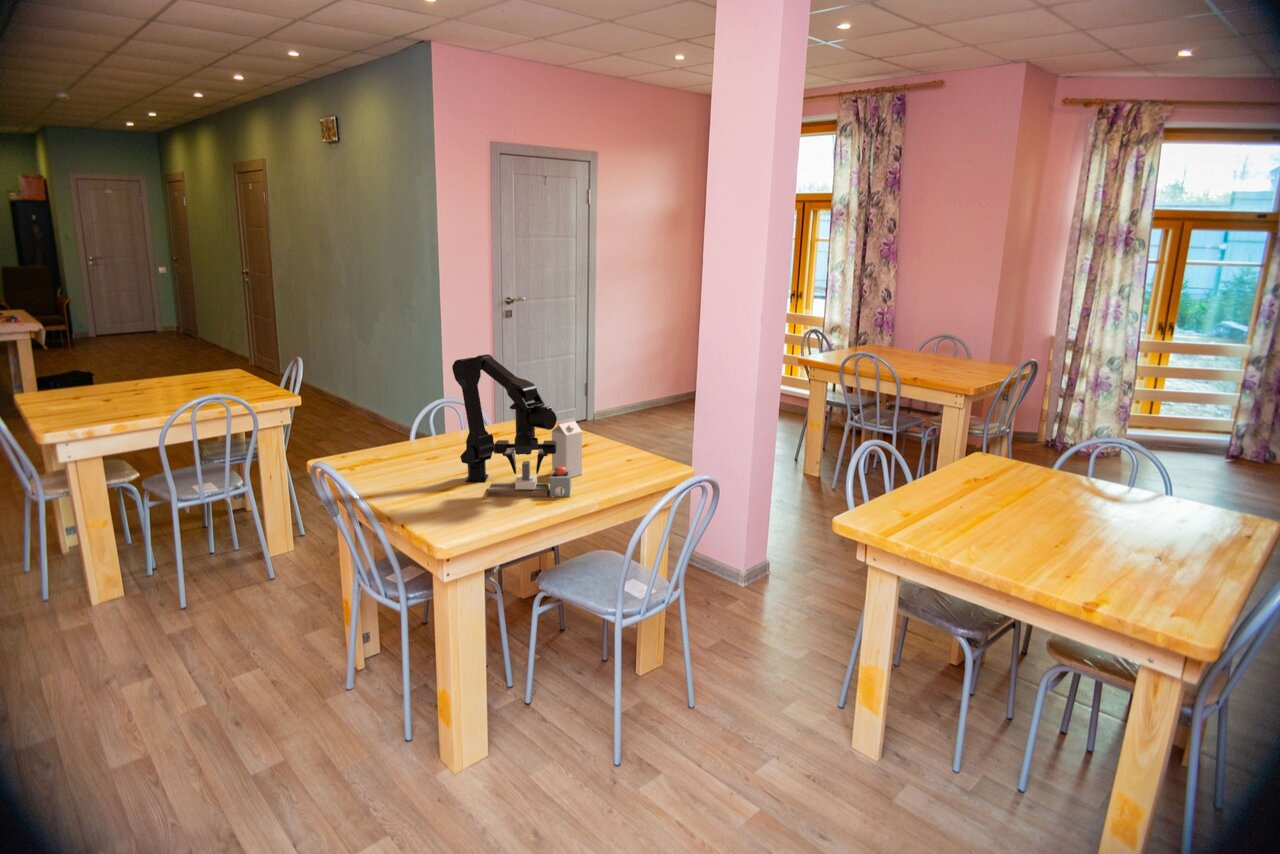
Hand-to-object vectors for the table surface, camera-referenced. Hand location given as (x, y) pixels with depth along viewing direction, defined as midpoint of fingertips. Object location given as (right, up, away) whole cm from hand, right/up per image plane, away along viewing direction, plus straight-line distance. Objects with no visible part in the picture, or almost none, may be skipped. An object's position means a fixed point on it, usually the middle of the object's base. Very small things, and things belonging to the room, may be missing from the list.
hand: (526, 473), depth 234 cm
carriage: (0, -4, +1) cm, 4 cm away
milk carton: (+11, -2, +19) cm, 22 cm away
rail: (-3, -6, +1) cm, 6 cm away
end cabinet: (+10, -6, +2) cm, 12 cm away
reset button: (+11, 0, 0) cm, 10 cm away
